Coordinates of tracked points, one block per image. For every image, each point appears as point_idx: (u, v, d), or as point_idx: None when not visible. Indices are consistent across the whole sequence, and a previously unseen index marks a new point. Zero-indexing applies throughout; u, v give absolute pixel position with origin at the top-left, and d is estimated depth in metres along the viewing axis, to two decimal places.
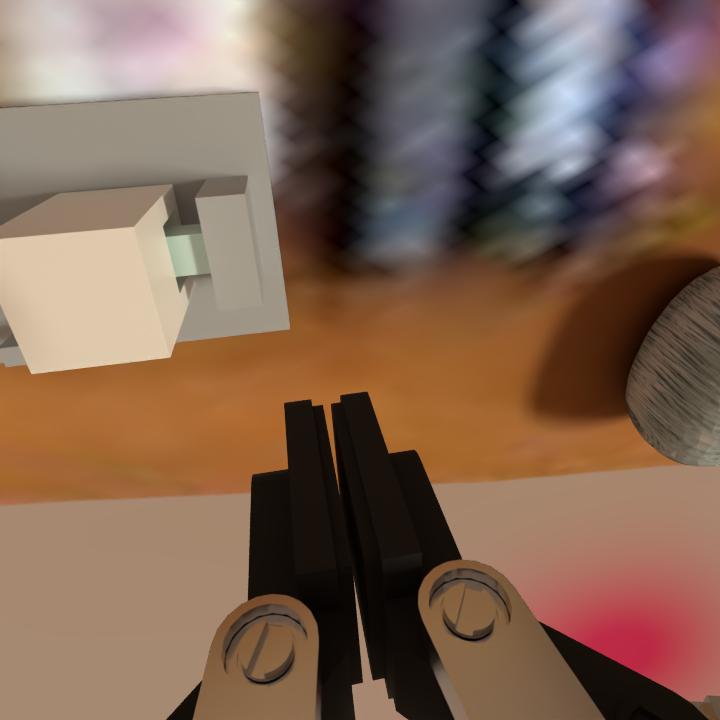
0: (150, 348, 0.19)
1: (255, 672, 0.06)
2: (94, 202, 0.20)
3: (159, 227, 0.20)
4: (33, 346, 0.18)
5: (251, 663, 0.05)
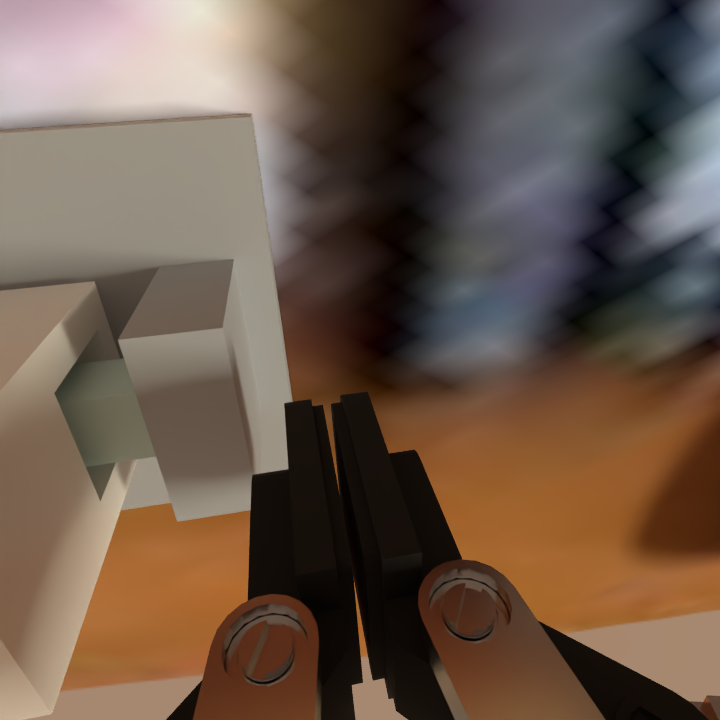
0: (1, 706, 0.08)
1: (255, 673, 0.06)
2: None
3: (40, 406, 0.09)
4: None
5: (251, 663, 0.05)
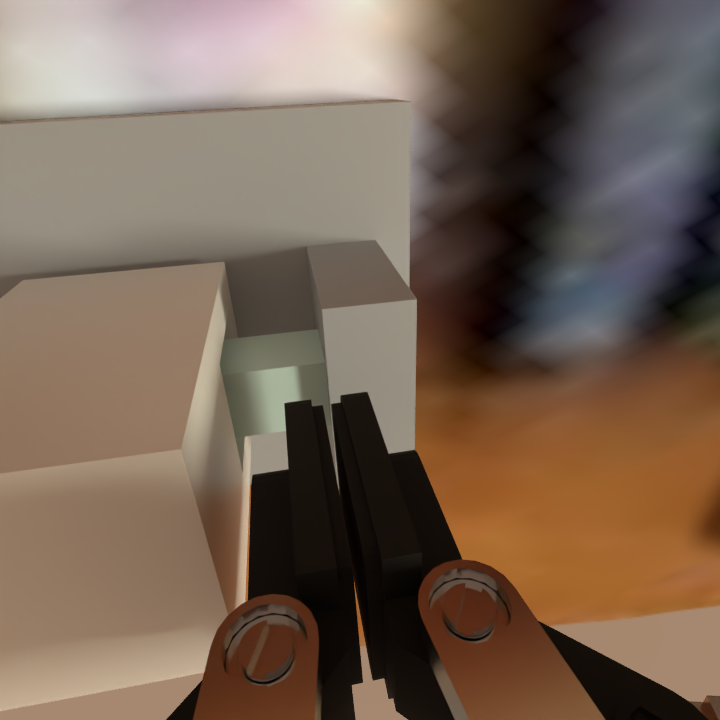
0: (201, 656, 0.09)
1: (255, 672, 0.06)
2: (85, 317, 0.10)
3: (216, 375, 0.10)
4: None
5: (251, 663, 0.05)
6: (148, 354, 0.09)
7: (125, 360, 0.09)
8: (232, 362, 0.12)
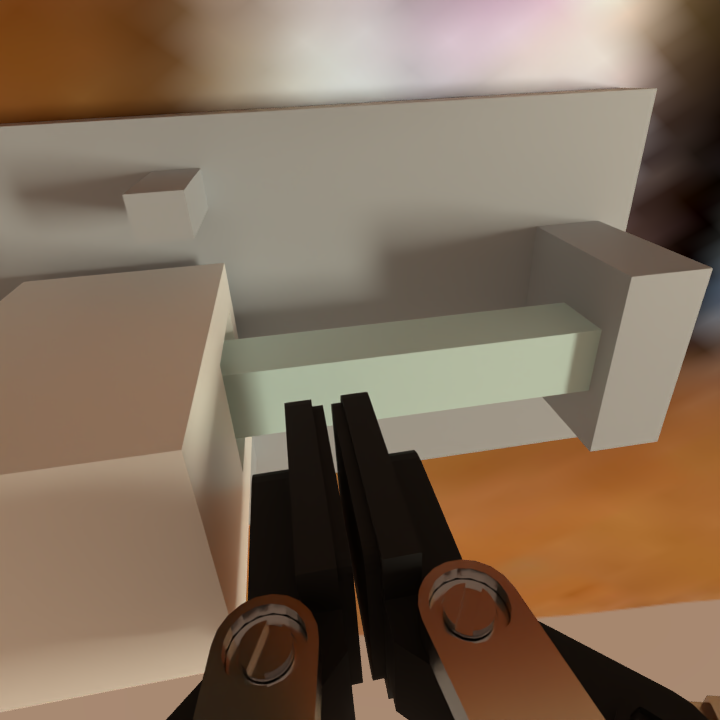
0: (202, 656, 0.09)
1: (255, 673, 0.06)
2: (85, 319, 0.10)
3: (216, 376, 0.10)
4: None
5: (251, 663, 0.05)
6: (148, 355, 0.09)
7: (126, 361, 0.09)
8: (510, 330, 0.13)
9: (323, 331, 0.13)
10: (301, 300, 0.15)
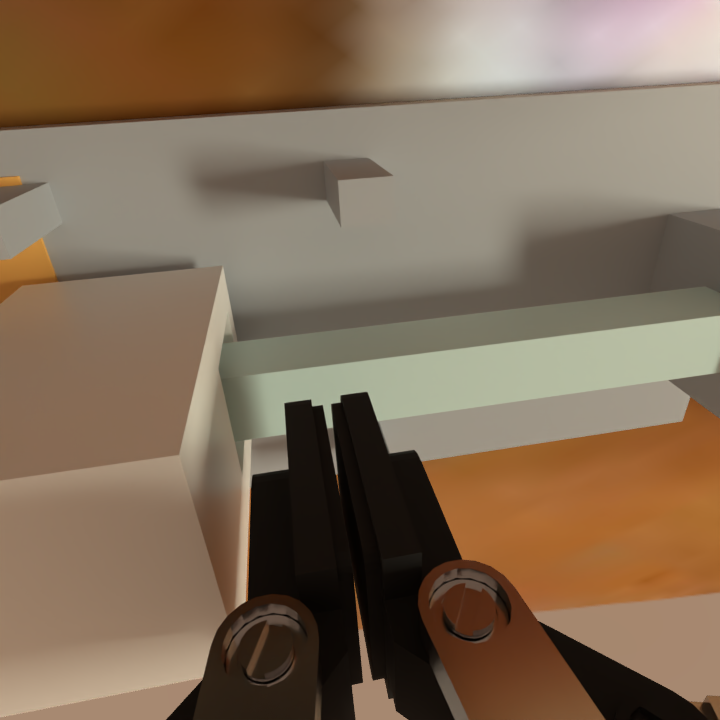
0: (202, 660, 0.09)
1: (254, 673, 0.06)
2: (84, 323, 0.10)
3: (215, 379, 0.10)
4: None
5: (251, 663, 0.05)
6: (146, 359, 0.09)
7: (124, 365, 0.09)
8: (668, 311, 0.13)
9: (483, 314, 0.13)
10: (442, 286, 0.15)
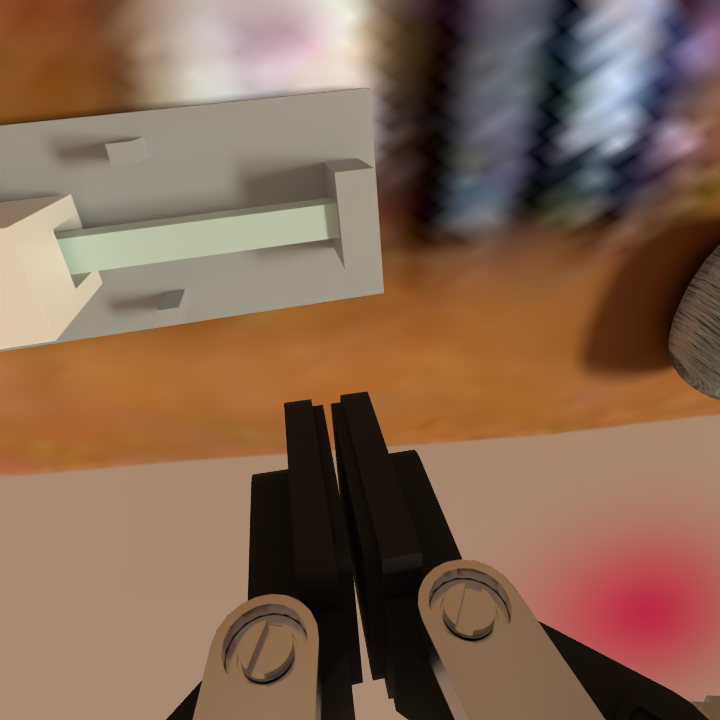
0: (36, 333, 0.22)
1: (254, 673, 0.06)
2: None
3: (47, 230, 0.23)
4: None
5: (251, 663, 0.05)
6: (11, 215, 0.22)
7: (1, 217, 0.22)
8: (294, 206, 0.26)
9: (207, 213, 0.27)
10: (202, 206, 0.28)
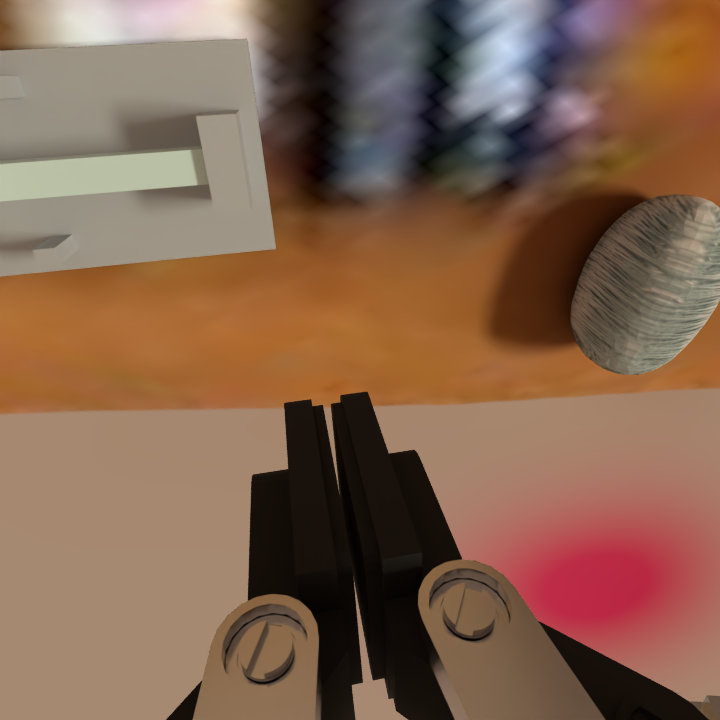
0: None
1: (254, 673, 0.06)
2: None
3: None
4: None
5: (251, 663, 0.05)
6: None
7: None
8: (164, 150, 0.27)
9: None
10: (84, 150, 0.29)
